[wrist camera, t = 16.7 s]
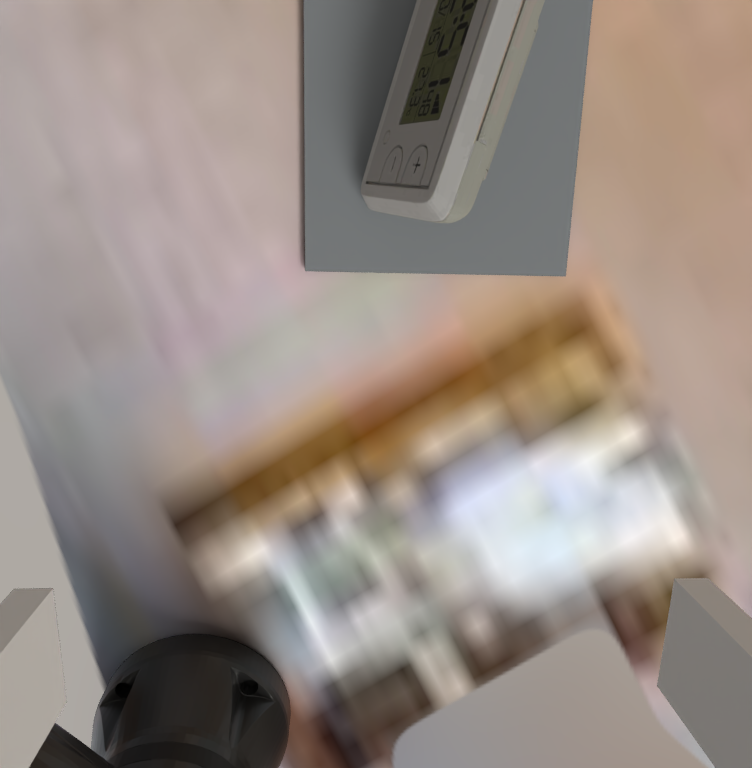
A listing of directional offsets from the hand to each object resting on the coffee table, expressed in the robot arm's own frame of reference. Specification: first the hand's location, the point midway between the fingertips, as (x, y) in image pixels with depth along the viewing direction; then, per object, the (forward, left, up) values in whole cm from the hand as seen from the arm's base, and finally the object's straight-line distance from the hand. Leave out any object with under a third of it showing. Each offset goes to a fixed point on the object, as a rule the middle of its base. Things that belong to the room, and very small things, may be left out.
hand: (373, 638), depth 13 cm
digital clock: (+17, -5, -30) cm, 35 cm away
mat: (+17, -6, -31) cm, 36 cm away
